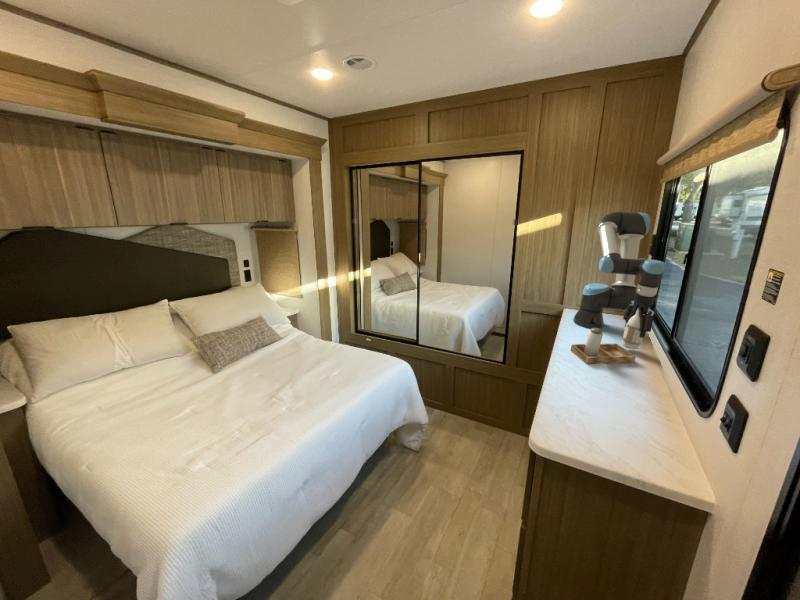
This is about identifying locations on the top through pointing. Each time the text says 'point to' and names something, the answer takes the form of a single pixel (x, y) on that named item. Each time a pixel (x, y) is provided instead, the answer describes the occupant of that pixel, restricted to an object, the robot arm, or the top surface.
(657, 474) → the top surface
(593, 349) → the white and grey cylinder
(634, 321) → the bath foam
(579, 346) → the caddy
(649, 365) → the top surface
